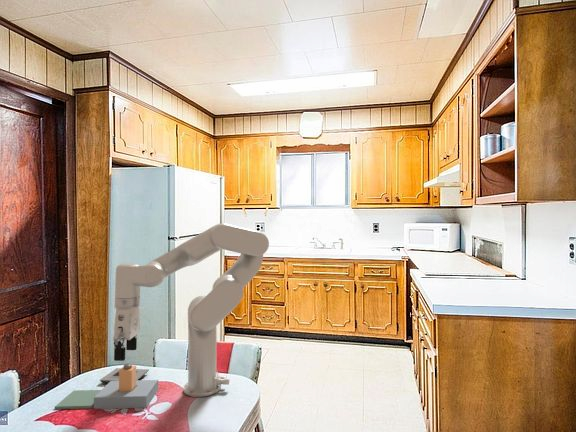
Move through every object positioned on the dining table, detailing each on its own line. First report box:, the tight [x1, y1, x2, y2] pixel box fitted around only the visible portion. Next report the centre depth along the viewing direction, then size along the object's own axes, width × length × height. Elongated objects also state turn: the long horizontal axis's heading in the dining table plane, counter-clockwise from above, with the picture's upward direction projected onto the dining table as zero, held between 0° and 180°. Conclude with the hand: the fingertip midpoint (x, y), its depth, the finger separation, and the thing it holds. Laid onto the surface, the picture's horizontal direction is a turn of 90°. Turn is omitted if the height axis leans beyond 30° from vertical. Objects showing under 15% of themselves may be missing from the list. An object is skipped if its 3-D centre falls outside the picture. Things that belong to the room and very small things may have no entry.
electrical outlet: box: [99, 367, 150, 383], centre depth 137 cm, size 13×10×2 cm
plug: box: [119, 363, 137, 392], centre depth 121 cm, size 4×4×11 cm
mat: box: [54, 389, 102, 410], centre depth 120 cm, size 11×11×1 cm
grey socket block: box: [93, 379, 159, 410], centre depth 121 cm, size 16×12×4 cm
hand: (125, 354), depth 121 cm, fingers open, 9 cm apart
